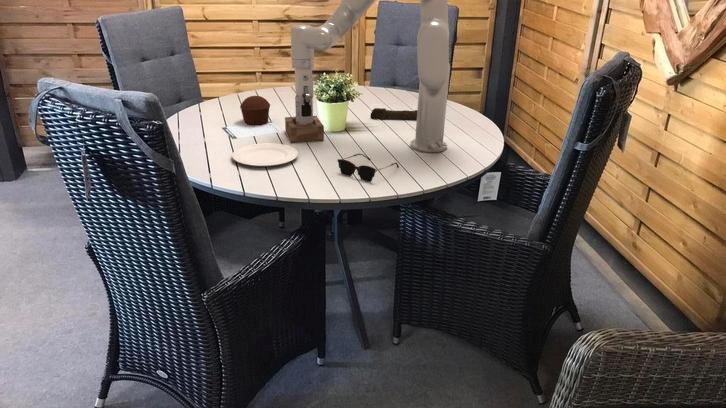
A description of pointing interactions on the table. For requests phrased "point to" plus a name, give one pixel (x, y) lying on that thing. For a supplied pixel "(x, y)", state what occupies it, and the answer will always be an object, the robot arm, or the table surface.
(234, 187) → the table surface
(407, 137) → the table surface
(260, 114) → the muffin
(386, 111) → the hand tool
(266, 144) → the plate
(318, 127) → the holder block
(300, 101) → the energy drink can
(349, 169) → the sunglasses
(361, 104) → the table surface
